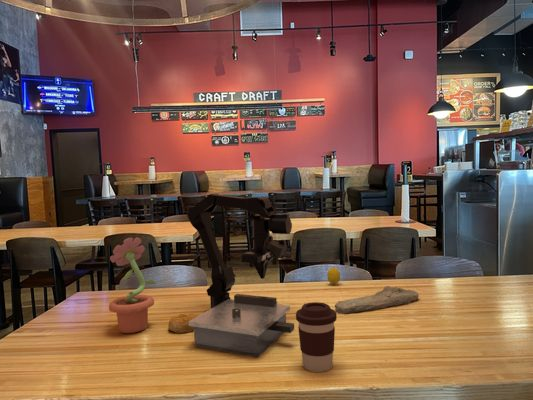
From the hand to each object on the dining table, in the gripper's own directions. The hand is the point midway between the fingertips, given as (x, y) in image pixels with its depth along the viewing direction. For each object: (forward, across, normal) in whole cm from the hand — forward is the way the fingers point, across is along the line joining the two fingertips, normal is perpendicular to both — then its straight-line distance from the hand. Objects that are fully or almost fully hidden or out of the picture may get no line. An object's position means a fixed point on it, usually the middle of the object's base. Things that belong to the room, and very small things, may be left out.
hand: (262, 278), depth 135 cm
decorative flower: (+14, -27, +33) cm, 45 cm away
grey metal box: (+13, -20, -7) cm, 25 cm away
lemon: (+13, +45, -11) cm, 48 cm away
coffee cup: (+13, -28, -30) cm, 43 cm away
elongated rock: (+13, +24, -34) cm, 44 cm away
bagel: (+14, -20, +18) cm, 30 cm away
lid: (+6, -20, -4) cm, 22 cm away
